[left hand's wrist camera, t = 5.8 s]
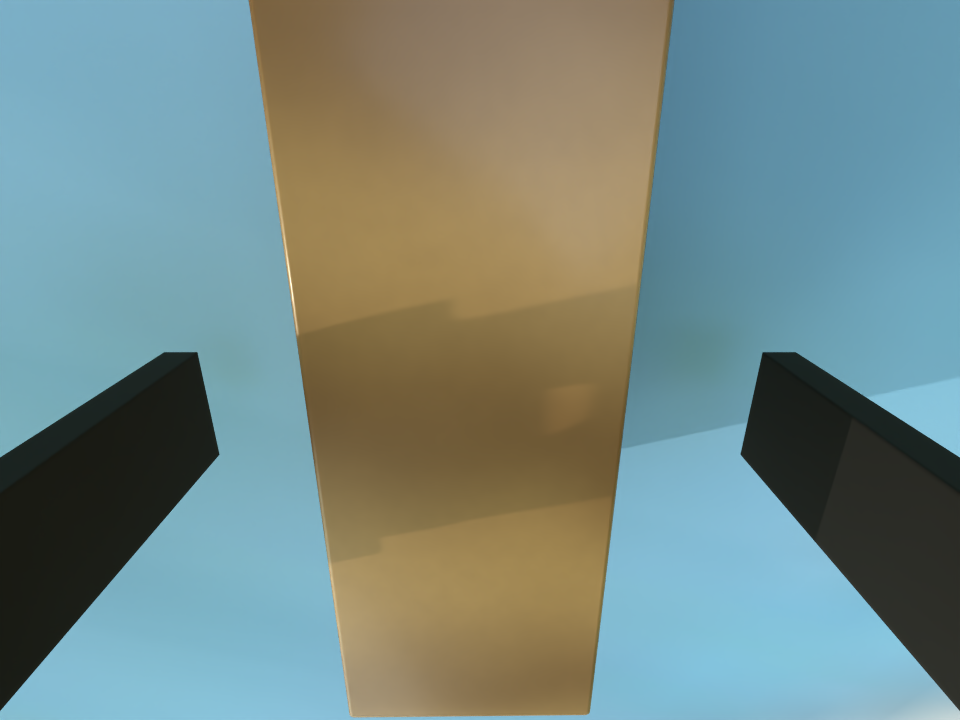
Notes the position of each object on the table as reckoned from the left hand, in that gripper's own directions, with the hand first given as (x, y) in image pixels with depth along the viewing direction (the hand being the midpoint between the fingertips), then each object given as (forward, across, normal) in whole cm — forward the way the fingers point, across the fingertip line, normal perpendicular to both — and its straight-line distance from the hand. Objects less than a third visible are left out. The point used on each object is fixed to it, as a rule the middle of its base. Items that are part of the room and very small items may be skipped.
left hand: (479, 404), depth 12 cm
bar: (+3, 0, -28) cm, 28 cm away
